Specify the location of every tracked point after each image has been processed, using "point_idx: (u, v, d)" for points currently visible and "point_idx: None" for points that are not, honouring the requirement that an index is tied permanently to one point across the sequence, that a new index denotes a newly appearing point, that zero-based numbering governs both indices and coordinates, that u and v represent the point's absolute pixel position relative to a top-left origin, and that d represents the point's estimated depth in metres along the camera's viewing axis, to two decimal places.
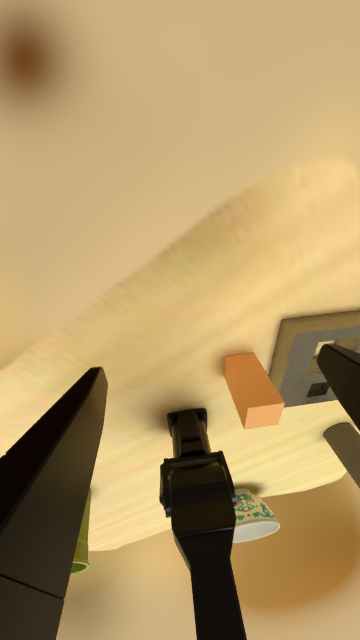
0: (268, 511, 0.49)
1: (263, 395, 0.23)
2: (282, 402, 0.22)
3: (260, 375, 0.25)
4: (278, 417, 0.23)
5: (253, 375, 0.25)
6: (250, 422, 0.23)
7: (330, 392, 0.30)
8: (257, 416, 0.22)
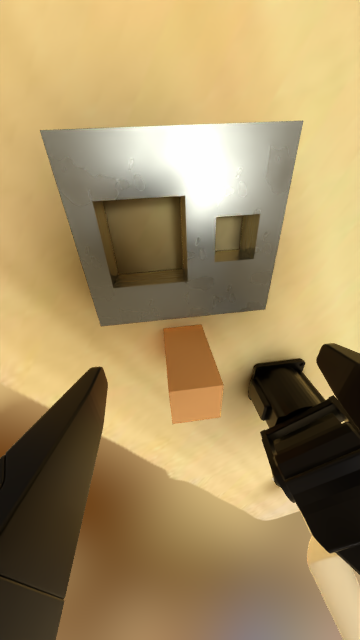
0: None
1: None
2: (169, 392, 0.15)
3: None
4: (204, 388, 0.15)
5: None
6: (205, 415, 0.17)
7: (255, 203, 0.13)
8: (193, 411, 0.16)
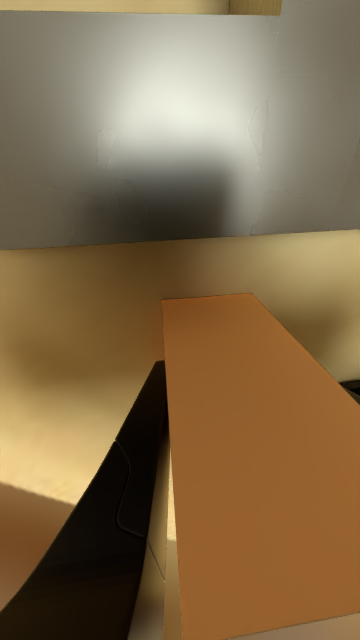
0: None
1: None
2: (185, 627, 0.02)
3: None
4: None
5: None
6: None
7: None
8: None
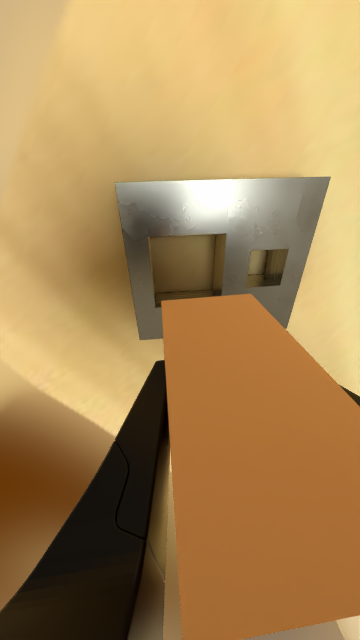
0: None
1: None
2: (184, 631, 0.02)
3: None
4: None
5: None
6: None
7: (285, 240, 0.15)
8: None
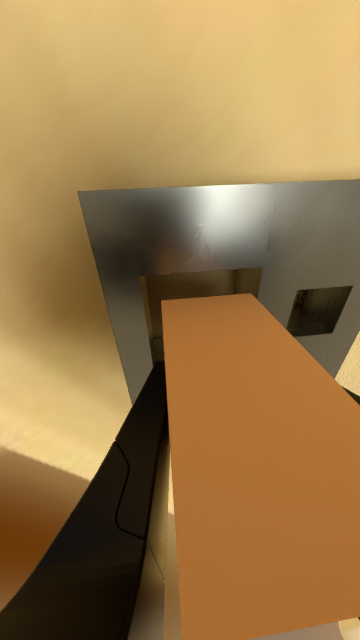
0: None
1: None
2: (184, 632, 0.02)
3: None
4: None
5: None
6: None
7: (350, 274, 0.10)
8: None
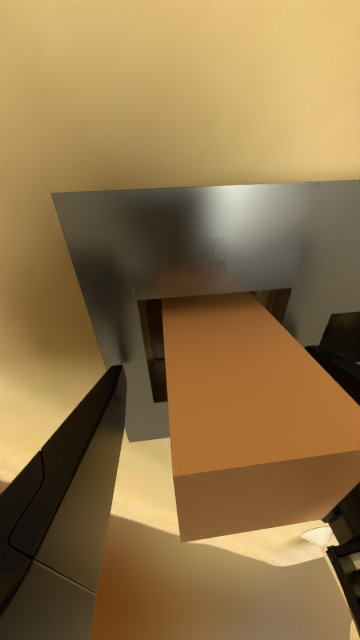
0: None
1: None
2: None
3: None
4: (321, 458, 0.04)
5: None
6: (284, 519, 0.05)
7: None
8: (249, 516, 0.05)
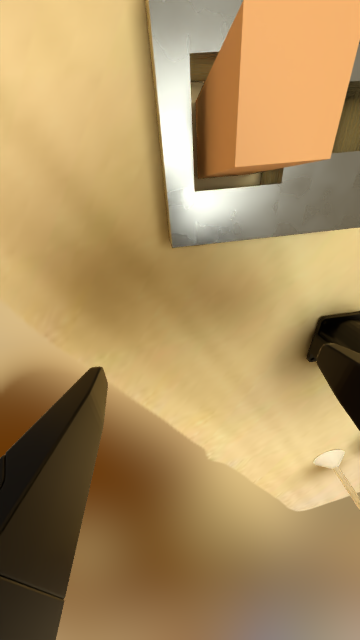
0: None
1: (227, 97, 0.08)
2: (242, 13, 0.06)
3: (211, 95, 0.10)
4: (327, 3, 0.06)
5: (210, 119, 0.10)
6: (304, 142, 0.08)
7: None
8: (282, 119, 0.08)
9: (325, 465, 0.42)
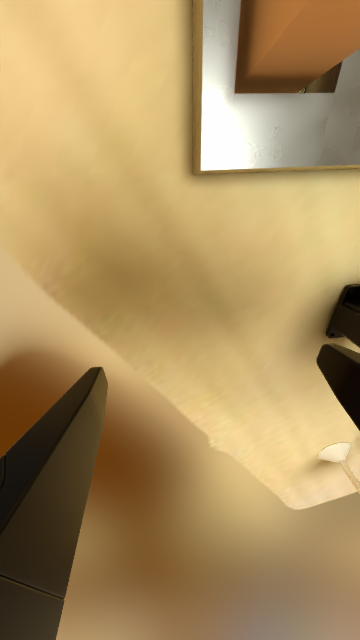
0: None
1: None
2: None
3: None
4: None
5: None
6: None
7: None
8: None
9: (330, 458, 0.41)
